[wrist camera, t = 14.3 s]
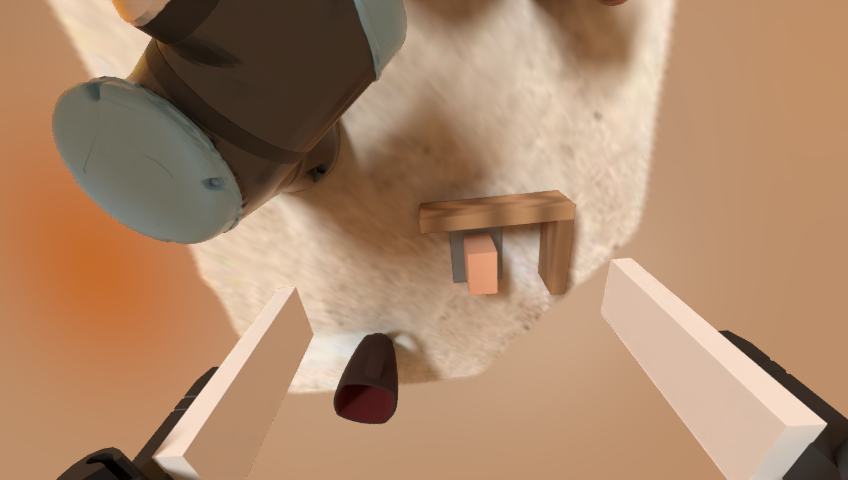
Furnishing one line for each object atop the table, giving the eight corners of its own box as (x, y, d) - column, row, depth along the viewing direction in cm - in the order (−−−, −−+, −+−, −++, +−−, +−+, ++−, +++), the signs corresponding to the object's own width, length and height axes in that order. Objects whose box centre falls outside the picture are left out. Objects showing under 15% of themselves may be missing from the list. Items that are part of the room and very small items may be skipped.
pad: (453, 282, 51) (453, 282, 50) (448, 223, 46) (448, 223, 46) (501, 278, 50) (501, 278, 50) (501, 217, 45) (501, 218, 45)
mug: (347, 358, 59) (330, 417, 49) (358, 305, 53) (341, 359, 43) (396, 367, 60) (389, 428, 50) (413, 316, 54) (409, 372, 44)
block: (463, 235, 46) (467, 254, 41) (489, 232, 46) (497, 251, 41) (465, 273, 50) (470, 295, 44) (489, 270, 49) (497, 293, 44)
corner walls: (429, 281, 51) (430, 304, 45) (420, 204, 44) (418, 220, 39) (550, 271, 49) (564, 293, 44) (557, 190, 43) (575, 204, 38)
